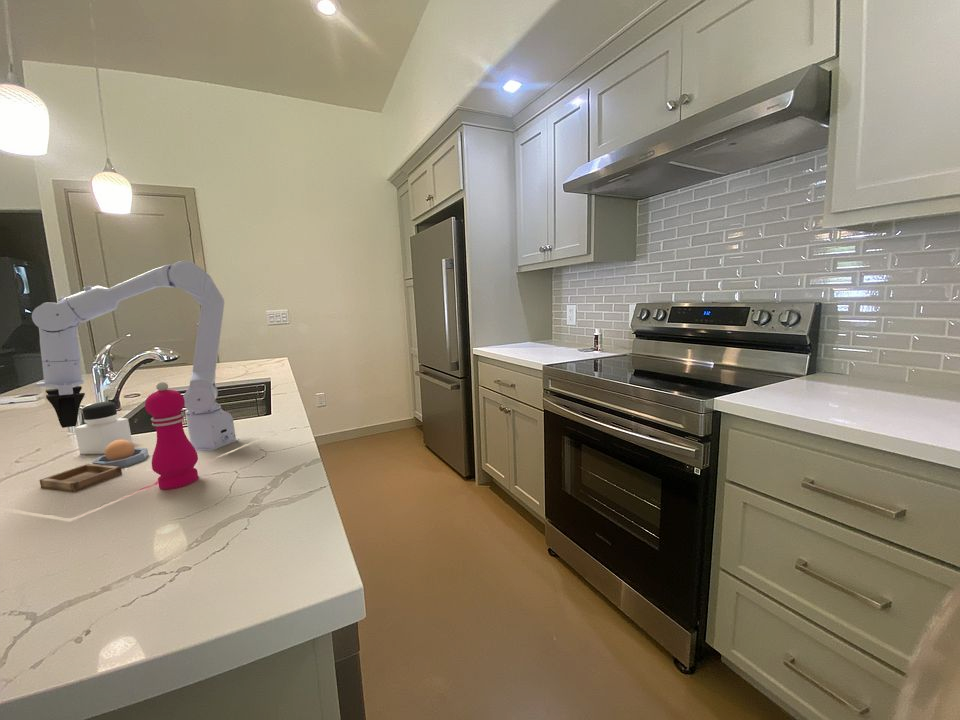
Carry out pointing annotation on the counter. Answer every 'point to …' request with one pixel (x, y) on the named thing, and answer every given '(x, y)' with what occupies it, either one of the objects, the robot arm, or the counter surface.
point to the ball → (119, 450)
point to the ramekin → (138, 456)
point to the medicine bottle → (101, 428)
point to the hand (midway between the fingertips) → (68, 423)
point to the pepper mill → (171, 439)
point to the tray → (80, 477)
